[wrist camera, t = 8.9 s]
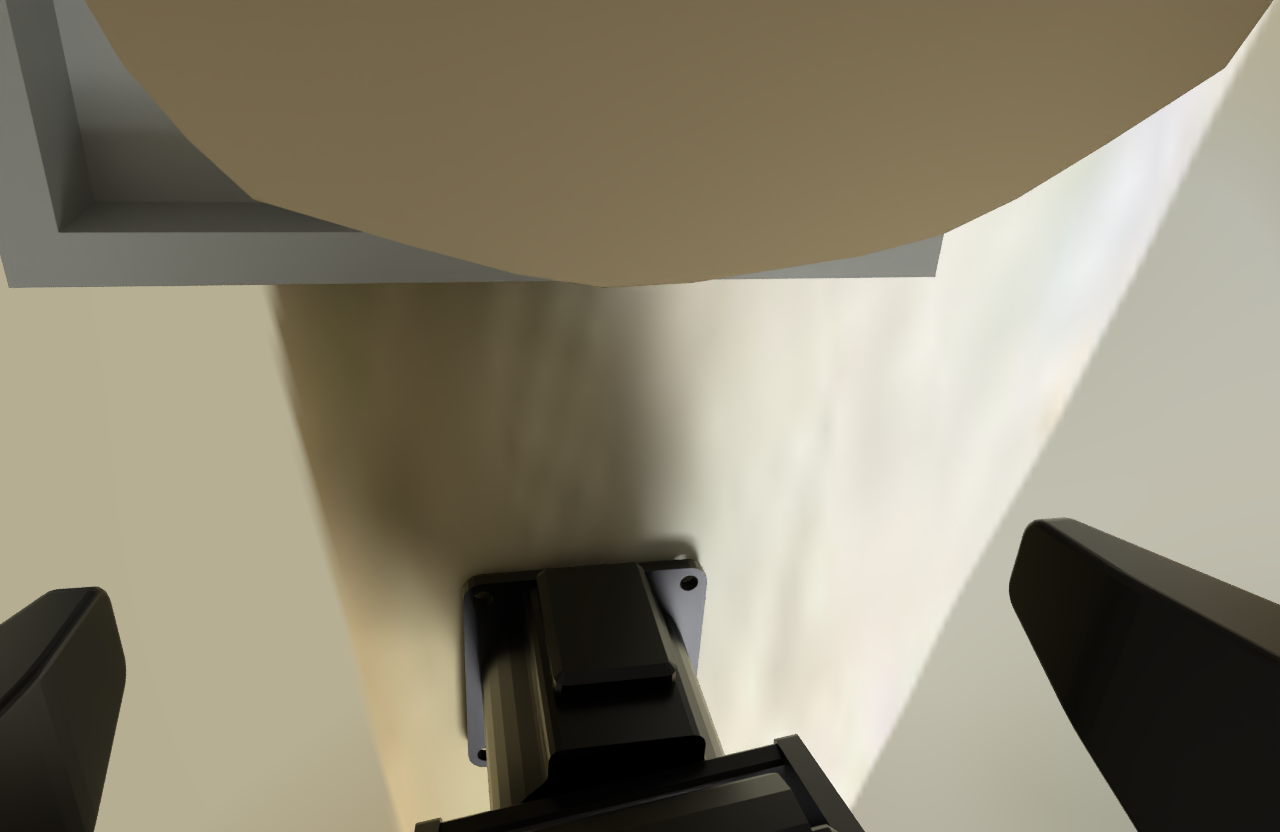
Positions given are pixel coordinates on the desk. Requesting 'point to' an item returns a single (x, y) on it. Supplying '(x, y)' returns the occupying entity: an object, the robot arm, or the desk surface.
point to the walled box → (190, 189)
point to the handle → (660, 116)
